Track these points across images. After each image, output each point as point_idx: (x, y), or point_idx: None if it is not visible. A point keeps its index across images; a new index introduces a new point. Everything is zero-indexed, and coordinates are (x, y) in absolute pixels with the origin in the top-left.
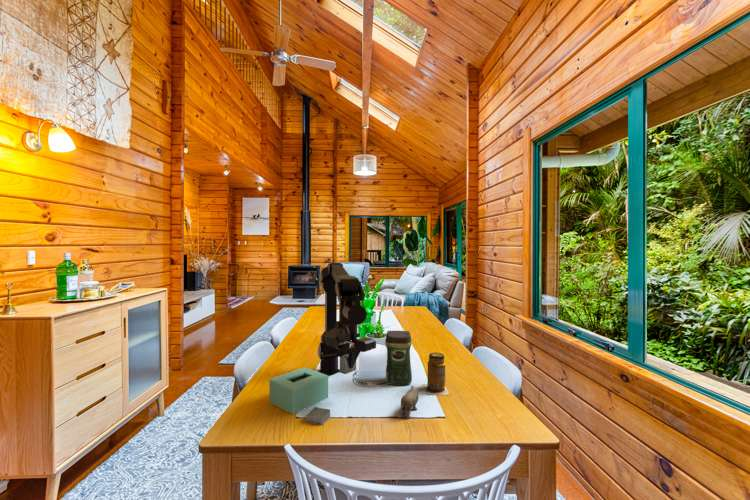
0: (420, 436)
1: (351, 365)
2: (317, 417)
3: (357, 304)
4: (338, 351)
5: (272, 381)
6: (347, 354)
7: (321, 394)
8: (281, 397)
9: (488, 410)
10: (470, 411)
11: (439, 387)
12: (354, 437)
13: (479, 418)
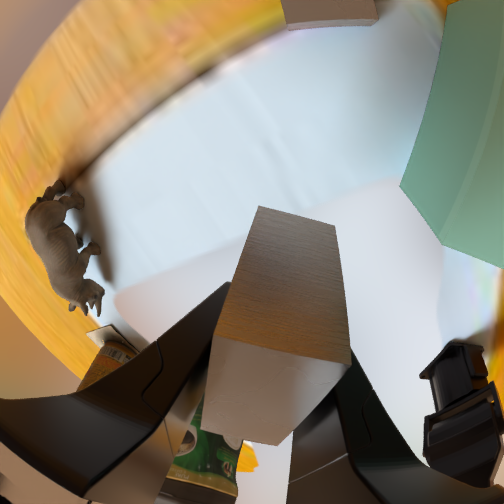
0: (10, 126)
1: (207, 302)
2: None
3: None
4: (401, 439)
5: None
6: (282, 423)
7: (426, 155)
8: None
9: (18, 290)
10: (25, 277)
11: (101, 349)
12: None
13: (6, 258)
